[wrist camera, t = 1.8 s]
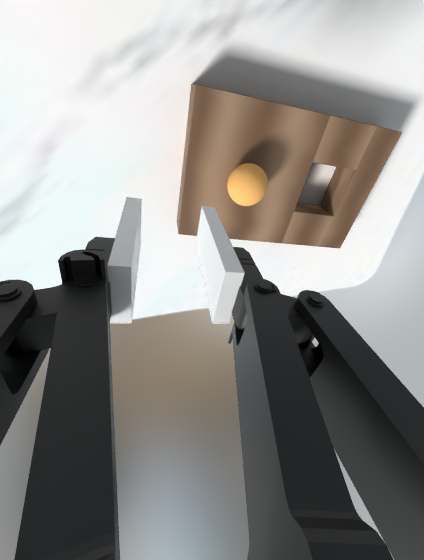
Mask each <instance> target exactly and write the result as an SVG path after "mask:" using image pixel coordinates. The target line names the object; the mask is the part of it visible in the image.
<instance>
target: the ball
mask: <svg viewBox="0 0 424 560" xmlns="http://www.w3.org/2000/svg"><path fill="white" fill-rule="evenodd" d="M267 188H268V179H267V176H266V174H265V172H264V171H263V169H262V168H261V167H259V166H258V165H256V164H252V163H245V164H241V165H239V166H238V167H236V168H235V169H234V170H233V171H232V172H231V174H230V176H229V178H228V182H227V189H228V193H229V195H230V197H231V199H232V200H233V201H234V202H236V203H237V204H239V205H242V206H251V205H254V204H256V203H258V202H259V201H261V200H262V198H263V197H264V196H265V194H266V191H267Z"/></svg>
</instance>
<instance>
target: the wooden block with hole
mask: <svg viewBox="0 0 424 560" xmlns="http://www.w3.org/2000/svg"><path fill="white" fill-rule="evenodd" d="M401 133H402V132H399V131H395V130H391V129H386V128H382V127H378V126H373V125H369V124H365V123H360V122H356V121H352V120H347V119H343V118H339V117H335V116H330V115H326V114H322V113H317V112H313V111H309V110H304V109H300V108H296V107H291V106H287V105H283V104H278V103H274V102H270V101H266V100H261V99H257V98H253V97H248V96H244V95H240V94H235V93H231V92H227V91H222V90H218V89H214V88H209V87H205V86H201V85H197V84H191V93H190V102H189V112H188V121H187V131H186V140H185V149H184V159H183V168H182V178H181V187H180V196H179V206H178V215H177V226H178V234H182V235H194V236H197V233H198V227H199V220H200V214H201V208H202V206H206V207H215V209H216V212H217V214H218V216H219V218H220V220H221V223H222V225H223V227H224V229H225V231H226V233H227V236H228V238H229V239H239V240H251V241H262V242H274V243H285V244H296V245H308V246H319V247H331V248H340V247H341V245H342V243H343V242H344V240H345V238H346V236H347V234H348V232H349V230H350V229H351V227H352V225H353V223H354V221H355V219H356V217H357V216H358V214H359V212H360V210H361V208H362V206H363V204H364V202H365V201H366V199H367V197H368V195H369V193H370V191H371V189H372V188H373V186H374V184H375V182H376V180H377V178H378V176H379V175H380V173H381V171H382V169H383V167H384V165H385V163H386V161H387V160H388V158H389V156H390V154H391V152H392V150H393V148H394V147H395V145H396V143H397V141H398V139H399V137H400V135H401ZM313 162H314V163H319V164H325V165H331V166H336V170H335V172H334V174H333V176H332V179H331V181H330V183H329V186H328V188H327V190H326V192H325V195H324V197H323V199H322V202H321V204H320V206H316V205H308V204H301V203H297V202H298V200H299V197H300V195H301V192H302V189H303V187H304V184H305V181H306V179H307V176H308V174H309V171H310V168H311V166H312V163H313ZM245 163H252V164H256V165H258V166H259V167H261V168H262V169H263V171H264V172H265V174H266V176H267V179H268V188H267V191H266V194H265V196H264V197H263V198H262V200H261V201H259V202H258V203H256V204H254V205H251V206H242V205H239V204H237V203H236V202H234V201H233V200H232V199H231V197H230V195H229V193H228V189H227V182H228V178H229V176H230V174H231V172H232V171H233V170H234V169H235V168H236V167H238V166H239V165H241V164H245Z"/></svg>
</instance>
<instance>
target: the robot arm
mask: <svg viewBox="0 0 424 560" xmlns="http://www.w3.org/2000/svg"><path fill="white" fill-rule="evenodd" d="M140 244H141V199H137V198H129V197H127V198H126V202H125V205H124V209H123V212H122V216H121V219H120V223H119V226H118V230H117V234H116V237H115V238H104V237H95V238H94V239H92V240H91V241H89V242H88V244H87V247H86V250H74V251H71V252H68V253H66V254H64V255H62V256H61V257H60V259H59V260H58V263H59V268H60V273H61V278H62V285H59V286H56V287H52V288H46V289H40V290H34V289H33V286H32V284H30V283H28V282H27V281H22V280H6V281H1V282H0V445H1V443H2V441H3V439H4V437H5V435H6V433H7V431H8V429H9V427H10V425H11V423H12V421H13V419H14V417H15V415H16V413H17V411H18V409H19V408H20V405H21V404H22V402H23V400H24V398H25V396H26V394H27V392H28V390H29V388H30V386H31V384H32V382H33V380H34V378H35V376H36V374H37V372H38V370H39V368H40V366H41V364H42V362H43V360H44V358H45V357H46V354H47V353H48V350H49V348H51V351H50V357H49V363H48V368H47V375H46V380H45V386H44V392H43V398H42V404H41V409H40V415H39V421H38V427H37V432H36V438H35V444H34V450H33V456H32V461H31V467H30V473H29V479H28V484H27V490H26V497H25V502H24V508H23V514H22V519H21V525H20V531H19V537H18V542H17V549H16V554H15V560H120V550H119V527H118V504H117V481H116V459H115V458H116V457H115V434H114V412H113V390H112V366H111V343H110V326H109V323H110V318H111V323H132V315H133V307H134V298H135V289H136V280H137V271H138V262H139V253H140ZM195 249H196V254H197V258H198V263H199V267H200V271H201V276H202V280H203V285H204V289H205V294H206V298H207V302H208V307H209V311H210V315H211V320H212V323H213V324H229V322H230V318H231V316H233V319H234V321H235V322H234V325H233V328H232V331H231V335H230V338H229V341H228V343H231V341H232V339H233V348H234V360H235V371H236V383H237V394H238V395H237V396H238V407H239V419H240V431H241V442H242V454H243V466H244V478H245V490H246V502H247V513H248V526H249V552H248V559H247V560H393V558H394V560H424V407H423V406H422V405H421V404H420V403H419V402H418V401H417V400H416V398H415V397H414V396H413V395H412V394H411V393H410V392H409V390H407V388H406V387H405V386H404V385H403V384H402V383H401V382H400V380H399V379H398V378H397V377H396V376H395V375H394V373H393V372H392V371H391V370H390V369H389V368H388V367H387V366H386V364H385V363H384V362H383V361H382V360H381V359H380V358H379V356H378V355H377V354H376V353H375V352H374V351H373V350H372V349H371V347H370V346H369V345H368V344H367V343H366V342H365V341H364V340H363V339H362V337H361V336H360V335H359V334H358V333H357V332H356V330H355V329H354V328H353V327H352V326H351V325H350V324H349V322H348V321H347V320H346V319H345V318H344V317H343V316H342V315H341V313H339V311H338V310H337V309H336V308H335V307H334V305H333V304H332V303H331V302H330V301H329V300H328V299H327V298H326V297H325V296H323V295H321V294H320V293H318V292H315V291H309V290H305V291H302V292H300V293H299V295H298V297H297V298H294V297H290V296H286V295H283V294H280V292H279V289H278V288H277V286H276V285H274V284H273V283H272V282H270V281H268V280H265V279H263V277H262V275H261V274H260V272H259V270H258V268H257V266H256V265H255V262H254V261H253V259H252V257H251V255H250V253H249V252H247V251H246V250H245V249H244V248H239V247H233V246H232V244H231V242H230V240H229V238H228V236H227V233H226V231H225V229H224V227H223V225H222V223H221V220H220V218H219V216H218V214H217V212H216V209H215V207H206V206H202V208H201V214H200V220H199V227H198V233H197V239H196V245H195ZM314 338H316V339H317V341H318V342H319V344H318V346H317V347H315V346H314V345H313V343H312V341H313V339H314ZM333 447H334V448H333ZM334 449H335V451H336V453H337V454H338V456H339V458H340V460H341V462H342V464H343V466H344V467H345V469H346V471H347V473H348V475H349V477H350V479H351V480H352V482H353V484H354V486H355V488H356V490H357V492H358V493H359V495H360V497H361V499H362V501H363V503H364V504H365V506H366V508H367V510H368V511H369V514H370V516H371V517H372V519H373V521H374V523H375V525H376V527H377V528H378V530H379V532H380V534H381V536H382V538H383V540H384V541H385V543H386V544H385V543H384V541H383V540H382V539H381V537H380V536H379V534H378V533H377V532H376V531H375V530H374V529H373V528H372V527H370V526H369V525H368V524H366V523H365V522H364V521H363V520H362V519H361V518H360V517H359V515H358V514H357V512H356V510H355V508H354V505H353V503H352V500H351V497H350V494H349V491H348V488H347V486H346V483H345V480H344V477H343V474H342V471H341V468H340V465H339V462H338V460H337V457H336V454H335V451H334ZM386 545H387V546H386ZM387 547H388V548H387ZM388 549H389V550H388ZM389 551H390V552H391V554H392V556H393V558H392V556H391V554H390V552H389Z"/></svg>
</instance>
